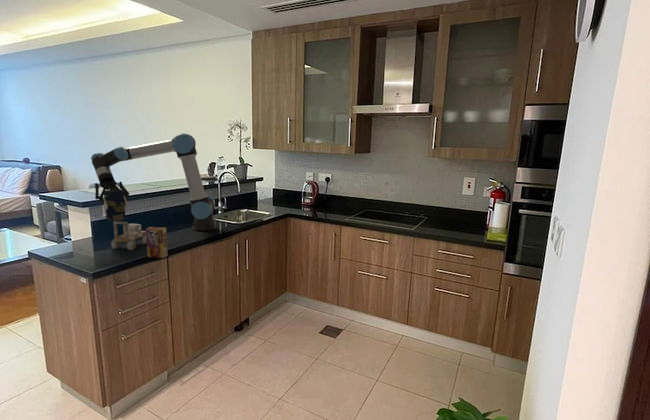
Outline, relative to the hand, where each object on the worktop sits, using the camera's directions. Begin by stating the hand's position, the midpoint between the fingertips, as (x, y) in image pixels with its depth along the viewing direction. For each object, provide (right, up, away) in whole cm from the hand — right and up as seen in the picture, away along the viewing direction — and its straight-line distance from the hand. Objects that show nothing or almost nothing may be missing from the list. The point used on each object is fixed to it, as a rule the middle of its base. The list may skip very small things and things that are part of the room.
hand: (117, 207), depth 193 cm
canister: (-3, -7, +4) cm, 9 cm away
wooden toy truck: (+8, -22, +1) cm, 23 cm away
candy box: (+29, -26, -13) cm, 42 cm away
